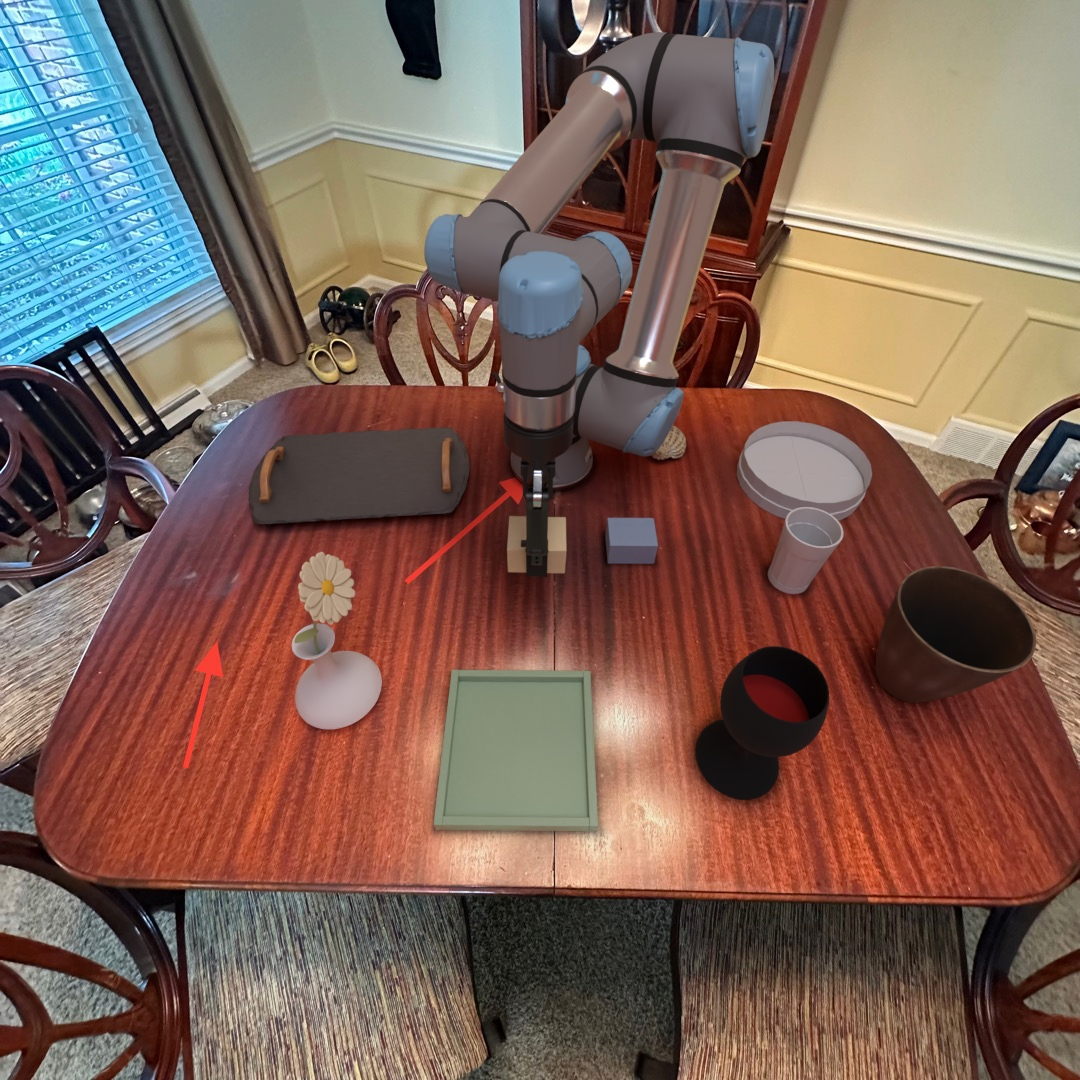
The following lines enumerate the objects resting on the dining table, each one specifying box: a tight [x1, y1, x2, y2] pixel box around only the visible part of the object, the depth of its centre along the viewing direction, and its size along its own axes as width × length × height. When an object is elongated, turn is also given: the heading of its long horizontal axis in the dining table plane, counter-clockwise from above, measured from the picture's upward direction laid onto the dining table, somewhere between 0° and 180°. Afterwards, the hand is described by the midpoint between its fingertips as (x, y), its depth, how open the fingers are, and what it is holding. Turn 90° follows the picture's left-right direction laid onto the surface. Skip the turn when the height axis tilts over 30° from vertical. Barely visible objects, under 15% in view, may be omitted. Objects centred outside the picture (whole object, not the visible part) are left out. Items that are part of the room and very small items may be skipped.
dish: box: [736, 420, 873, 522], centre depth 108 cm, size 22×22×5 cm
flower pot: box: [875, 565, 1037, 704], centre depth 77 cm, size 15×15×16 cm
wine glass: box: [695, 645, 830, 801], centre depth 69 cm, size 10×10×20 cm
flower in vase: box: [291, 551, 383, 730], centre depth 73 cm, size 13×11×25 cm
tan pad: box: [506, 515, 567, 574], centre depth 79 cm, size 8×6×4 cm
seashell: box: [650, 425, 687, 461], centre depth 114 cm, size 8×6×10 cm
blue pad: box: [604, 517, 659, 565], centre depth 97 cm, size 8×6×4 cm
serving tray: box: [248, 426, 471, 528], centre depth 107 cm, size 39×23×6 cm, turn 95°
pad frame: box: [433, 669, 599, 832], centre depth 76 cm, size 19×20×2 cm
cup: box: [767, 507, 844, 595], centre depth 91 cm, size 8×8×12 cm
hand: (537, 554), depth 81 cm, fingers closed on tan pad, 6 cm apart
